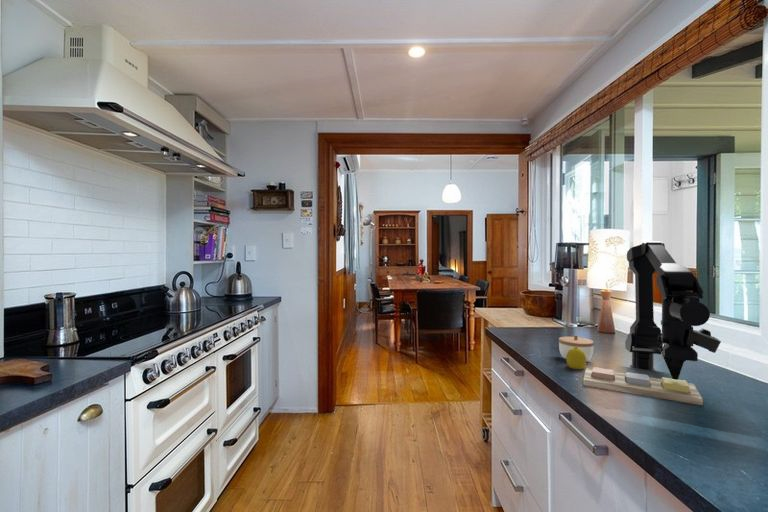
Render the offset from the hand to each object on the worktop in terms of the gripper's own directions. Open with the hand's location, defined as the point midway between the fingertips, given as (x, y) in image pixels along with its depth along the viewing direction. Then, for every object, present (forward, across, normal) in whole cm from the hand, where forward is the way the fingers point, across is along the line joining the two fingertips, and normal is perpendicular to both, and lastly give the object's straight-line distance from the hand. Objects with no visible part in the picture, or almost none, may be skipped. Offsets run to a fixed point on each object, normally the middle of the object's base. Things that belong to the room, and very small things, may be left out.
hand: (675, 379), depth 95 cm
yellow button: (+4, 0, 0) cm, 4 cm away
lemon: (+5, +10, +24) cm, 26 cm away
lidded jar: (+5, +22, +24) cm, 34 cm away
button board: (+5, 0, +8) cm, 9 cm away
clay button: (+4, 0, +16) cm, 16 cm away
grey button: (+4, 0, +8) cm, 9 cm away
